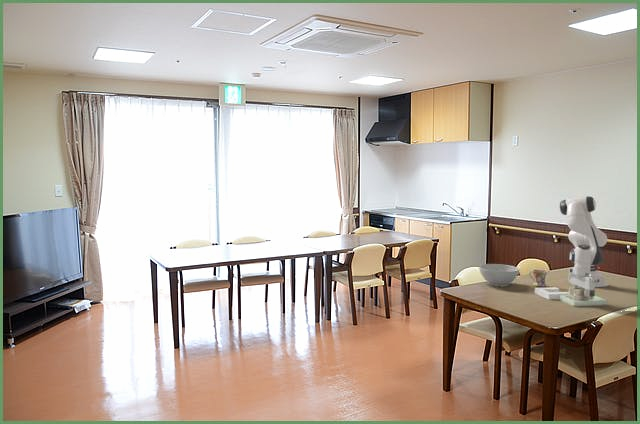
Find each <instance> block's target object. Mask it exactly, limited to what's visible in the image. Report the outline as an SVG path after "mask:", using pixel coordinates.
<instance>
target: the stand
mask: <svg viewBox="0 0 640 424" xmlns="http://www.w3.org/2000/svg"><path fill="white" fill-rule="evenodd" d="M534 294H535V295H538V296H539V297H542V298H544V299H546V300H548V301H549V300H550V301H551V300H560V296H561V295H569V291H560V288H558V287H554V286H552V287H534Z"/></svg>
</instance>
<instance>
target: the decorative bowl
mask: <svg viewBox="0 0 640 424" xmlns="http://www.w3.org/2000/svg"><path fill="white" fill-rule="evenodd" d="M478 270H479V273H480V274H481V276H482V278H483V279H484V280H485V281H486V282H487V283H488V284H489V285H490V286H492V285H493V287H499V286H500V288H501V287H502V288H503V287H508V285H509V284H510V283H512V282H514V281H515V279H516V278H517V277H518V275H519V273H520V268H519V267H517V266H514V265H509V264H501V263H500V264H499V263H485V264H484V263H483V264H479V267H478Z"/></svg>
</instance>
